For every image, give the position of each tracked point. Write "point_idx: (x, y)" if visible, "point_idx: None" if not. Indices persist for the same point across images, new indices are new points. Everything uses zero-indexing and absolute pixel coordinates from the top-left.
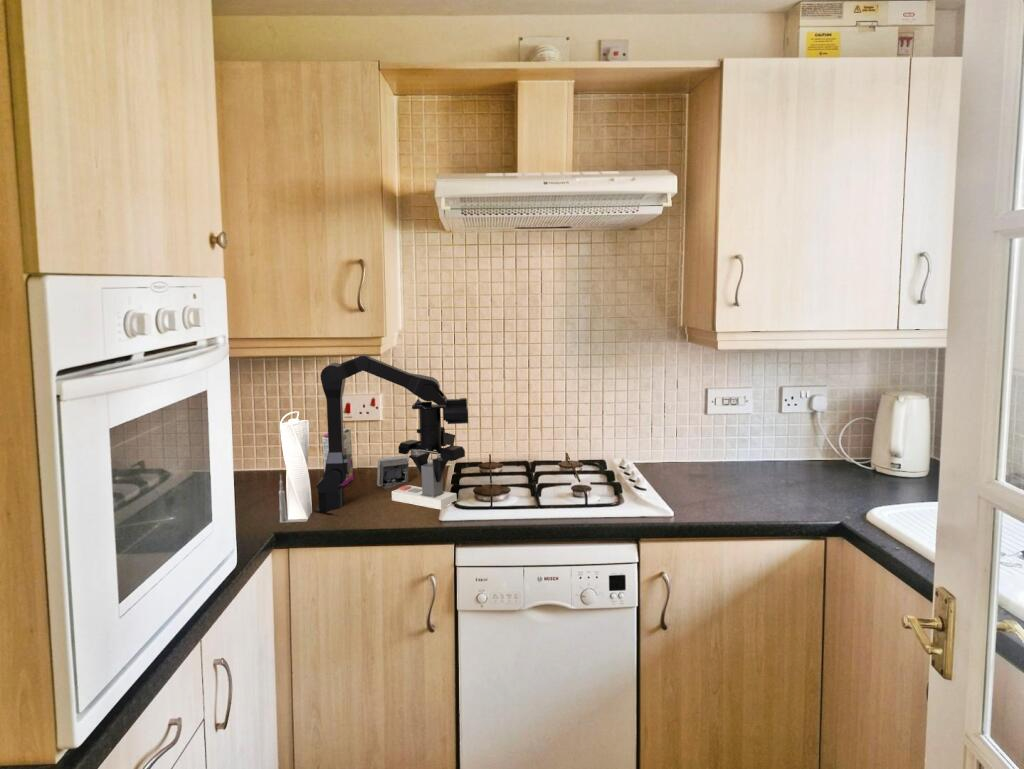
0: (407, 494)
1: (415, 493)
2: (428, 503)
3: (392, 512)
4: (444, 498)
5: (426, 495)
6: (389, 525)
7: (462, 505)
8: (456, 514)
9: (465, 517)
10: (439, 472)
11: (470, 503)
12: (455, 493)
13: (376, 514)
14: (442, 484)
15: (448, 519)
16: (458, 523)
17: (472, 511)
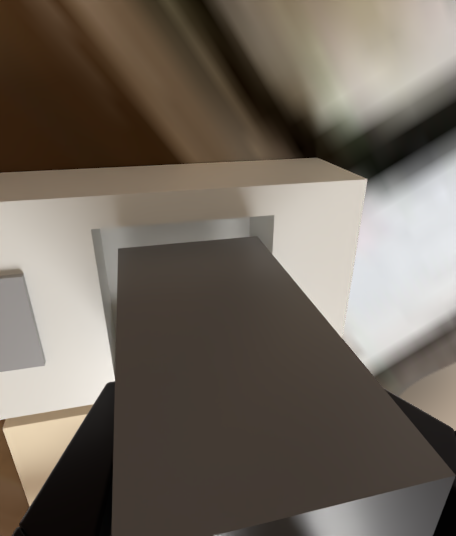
0: (12, 415)
1: (53, 371)
2: None
3: None
4: (340, 324)
5: (101, 277)
6: None
7: (346, 124)
8: (385, 281)
9: (445, 288)
10: None
11: (379, 48)
12: (359, 184)
13: (3, 512)
14: (284, 274)
15: (380, 352)
16: (442, 359)
17: (449, 192)
